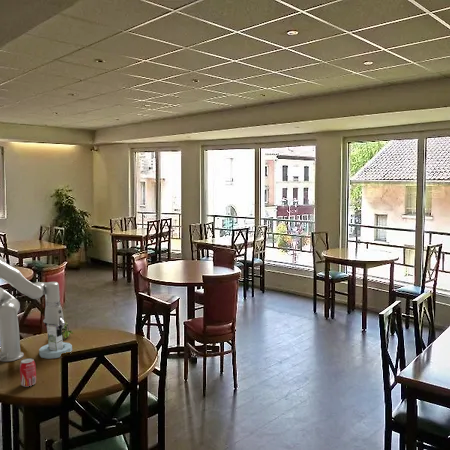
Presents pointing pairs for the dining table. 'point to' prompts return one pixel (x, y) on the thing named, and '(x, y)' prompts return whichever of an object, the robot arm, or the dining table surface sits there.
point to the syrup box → (54, 338)
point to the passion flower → (66, 331)
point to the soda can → (27, 372)
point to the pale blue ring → (48, 354)
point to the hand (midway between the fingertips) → (54, 334)
